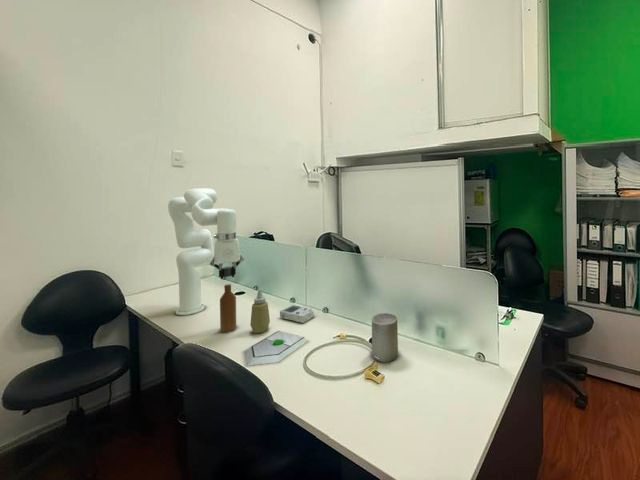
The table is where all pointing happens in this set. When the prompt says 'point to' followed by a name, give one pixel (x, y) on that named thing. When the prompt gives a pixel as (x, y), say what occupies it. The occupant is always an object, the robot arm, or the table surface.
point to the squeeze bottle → (260, 314)
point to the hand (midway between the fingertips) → (227, 277)
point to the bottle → (227, 310)
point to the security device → (273, 348)
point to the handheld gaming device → (297, 313)
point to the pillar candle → (384, 337)
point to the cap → (227, 271)
